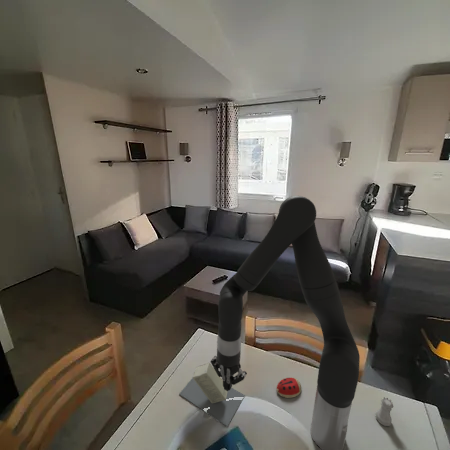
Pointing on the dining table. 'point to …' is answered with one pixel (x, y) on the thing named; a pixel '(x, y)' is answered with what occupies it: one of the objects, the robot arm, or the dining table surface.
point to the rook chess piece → (384, 412)
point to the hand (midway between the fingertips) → (227, 388)
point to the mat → (218, 410)
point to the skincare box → (210, 383)
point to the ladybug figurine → (289, 387)
